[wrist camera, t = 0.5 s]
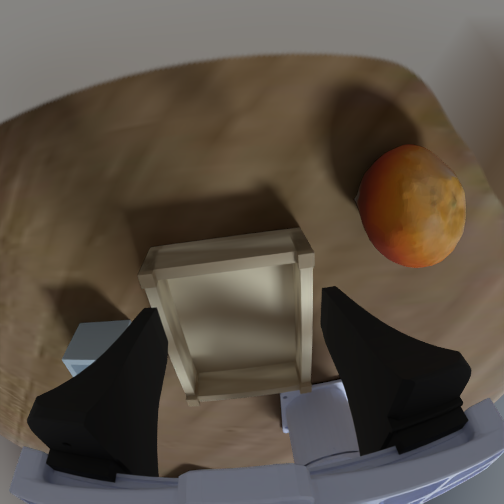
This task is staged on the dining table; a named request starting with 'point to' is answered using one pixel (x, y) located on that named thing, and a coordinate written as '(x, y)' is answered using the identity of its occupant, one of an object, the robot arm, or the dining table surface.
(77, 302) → the dining table surface
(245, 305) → the pine crate
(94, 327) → the small crate
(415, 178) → the fruit
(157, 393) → the robot arm
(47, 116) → the dining table surface
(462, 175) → the dining table surface
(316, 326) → the dining table surface
